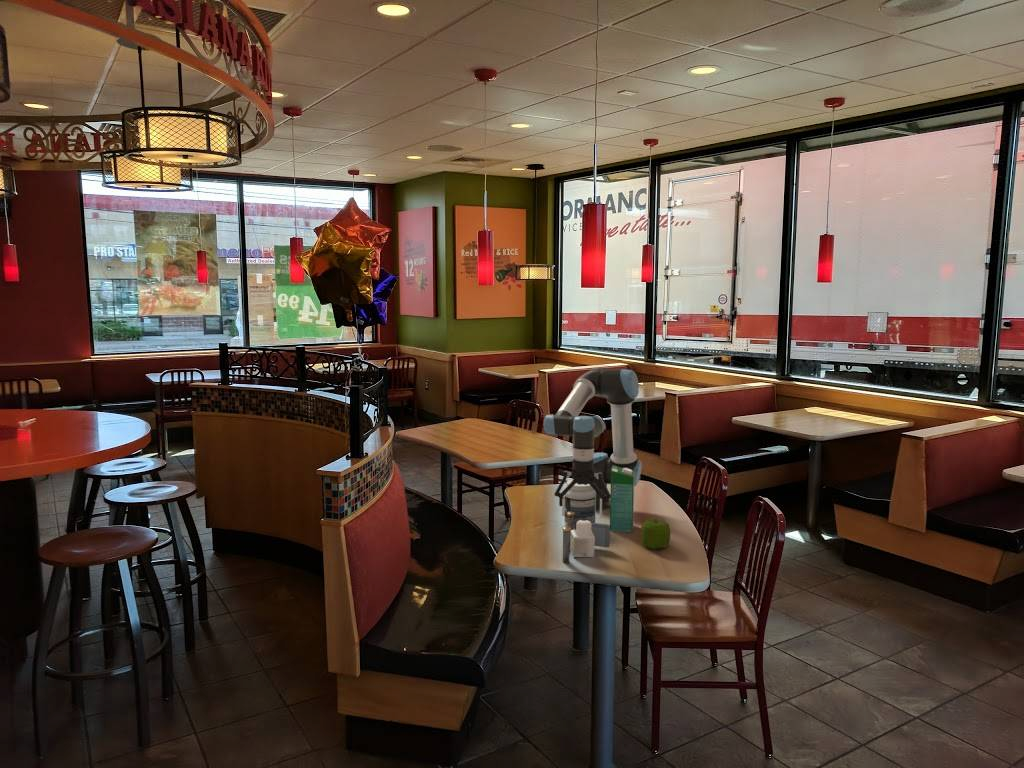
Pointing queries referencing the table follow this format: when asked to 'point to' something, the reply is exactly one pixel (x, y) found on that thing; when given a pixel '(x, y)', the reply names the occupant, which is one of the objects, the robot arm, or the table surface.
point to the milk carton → (622, 499)
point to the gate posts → (567, 536)
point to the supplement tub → (580, 502)
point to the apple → (655, 533)
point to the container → (582, 538)
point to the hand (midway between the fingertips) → (582, 515)
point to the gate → (601, 534)
